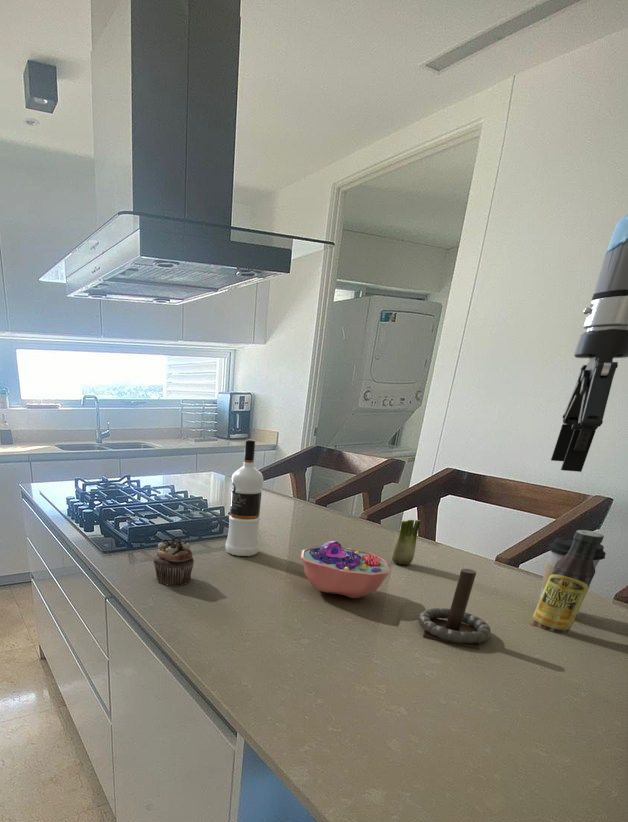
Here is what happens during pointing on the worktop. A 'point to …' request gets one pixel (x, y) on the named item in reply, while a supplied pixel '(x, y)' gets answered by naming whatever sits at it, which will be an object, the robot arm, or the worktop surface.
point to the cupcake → (173, 562)
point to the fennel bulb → (406, 542)
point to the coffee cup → (560, 550)
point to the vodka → (245, 506)
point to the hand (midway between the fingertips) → (564, 465)
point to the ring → (452, 635)
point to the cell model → (343, 570)
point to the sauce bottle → (568, 584)
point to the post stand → (458, 610)
